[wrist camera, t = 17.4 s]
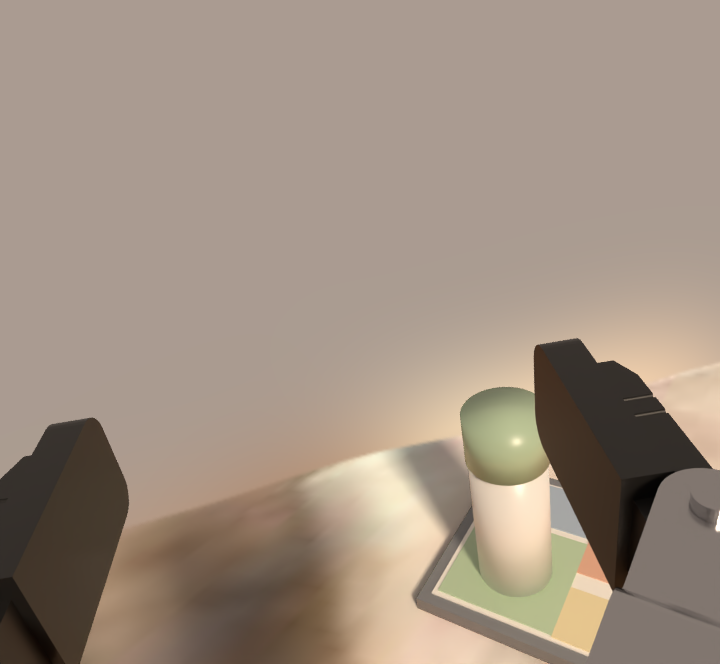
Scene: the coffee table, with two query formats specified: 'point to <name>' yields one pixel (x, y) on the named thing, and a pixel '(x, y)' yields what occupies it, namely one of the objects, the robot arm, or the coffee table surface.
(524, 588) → the marker
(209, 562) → the coffee table surface
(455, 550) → the picture board
